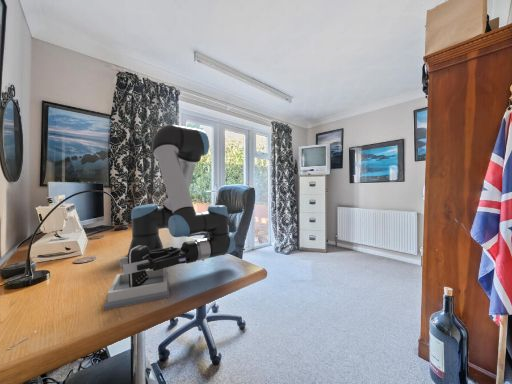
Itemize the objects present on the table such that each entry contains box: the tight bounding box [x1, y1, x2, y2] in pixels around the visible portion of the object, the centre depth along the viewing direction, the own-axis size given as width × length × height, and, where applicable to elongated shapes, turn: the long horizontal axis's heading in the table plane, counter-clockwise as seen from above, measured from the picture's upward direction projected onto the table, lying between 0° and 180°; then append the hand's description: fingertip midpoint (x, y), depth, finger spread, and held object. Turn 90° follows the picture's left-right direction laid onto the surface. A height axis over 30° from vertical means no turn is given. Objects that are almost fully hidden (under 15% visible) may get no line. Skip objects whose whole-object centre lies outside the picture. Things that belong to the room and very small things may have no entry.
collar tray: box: [103, 268, 170, 311], centre depth 69 cm, size 18×16×4 cm
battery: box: [127, 245, 150, 287], centre depth 69 cm, size 7×4×11 cm, turn 178°
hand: (121, 266), depth 66 cm, fingers closed on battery, 7 cm apart
